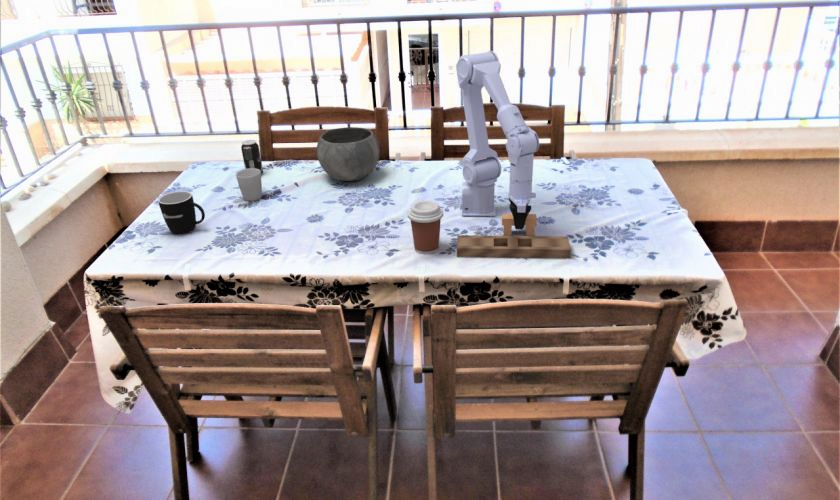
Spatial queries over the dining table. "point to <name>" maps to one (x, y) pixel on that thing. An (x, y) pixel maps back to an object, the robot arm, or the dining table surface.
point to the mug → (180, 211)
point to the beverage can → (251, 155)
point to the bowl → (348, 153)
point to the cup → (250, 183)
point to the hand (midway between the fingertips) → (518, 225)
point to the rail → (513, 246)
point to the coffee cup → (425, 226)
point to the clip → (529, 223)
